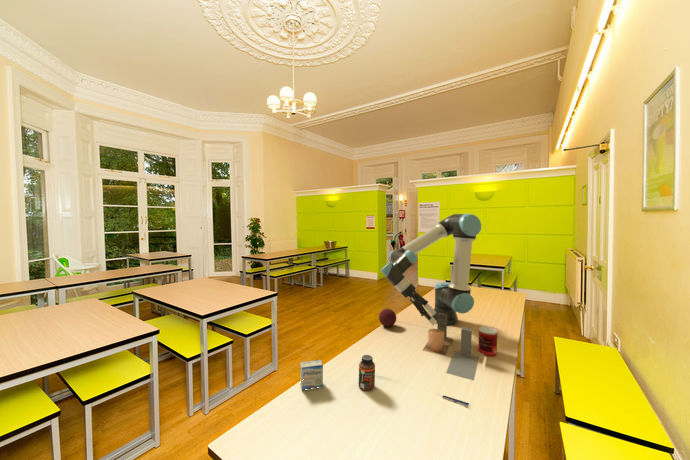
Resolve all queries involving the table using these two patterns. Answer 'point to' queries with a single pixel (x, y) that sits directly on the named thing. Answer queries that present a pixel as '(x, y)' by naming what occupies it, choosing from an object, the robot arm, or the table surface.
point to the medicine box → (311, 374)
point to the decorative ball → (387, 317)
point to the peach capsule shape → (436, 340)
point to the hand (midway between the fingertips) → (434, 318)
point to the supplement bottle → (367, 373)
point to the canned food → (487, 341)
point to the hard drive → (456, 401)
